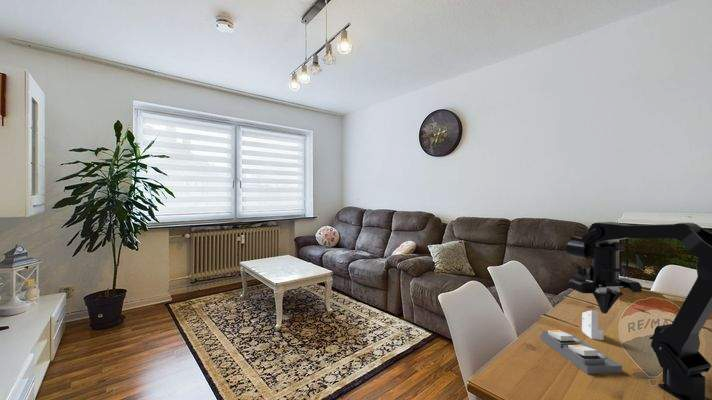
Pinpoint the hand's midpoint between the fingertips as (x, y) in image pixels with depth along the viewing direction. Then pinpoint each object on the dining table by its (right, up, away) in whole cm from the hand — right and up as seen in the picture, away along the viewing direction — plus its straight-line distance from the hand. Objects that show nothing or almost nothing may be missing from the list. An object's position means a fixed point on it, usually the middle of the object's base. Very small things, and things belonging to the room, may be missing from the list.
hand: (603, 313), depth 90 cm
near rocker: (-10, -10, -4) cm, 15 cm away
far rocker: (-10, -10, +5) cm, 15 cm away
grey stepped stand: (-8, -13, 0) cm, 15 cm away
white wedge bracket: (+7, -13, +12) cm, 19 cm away
